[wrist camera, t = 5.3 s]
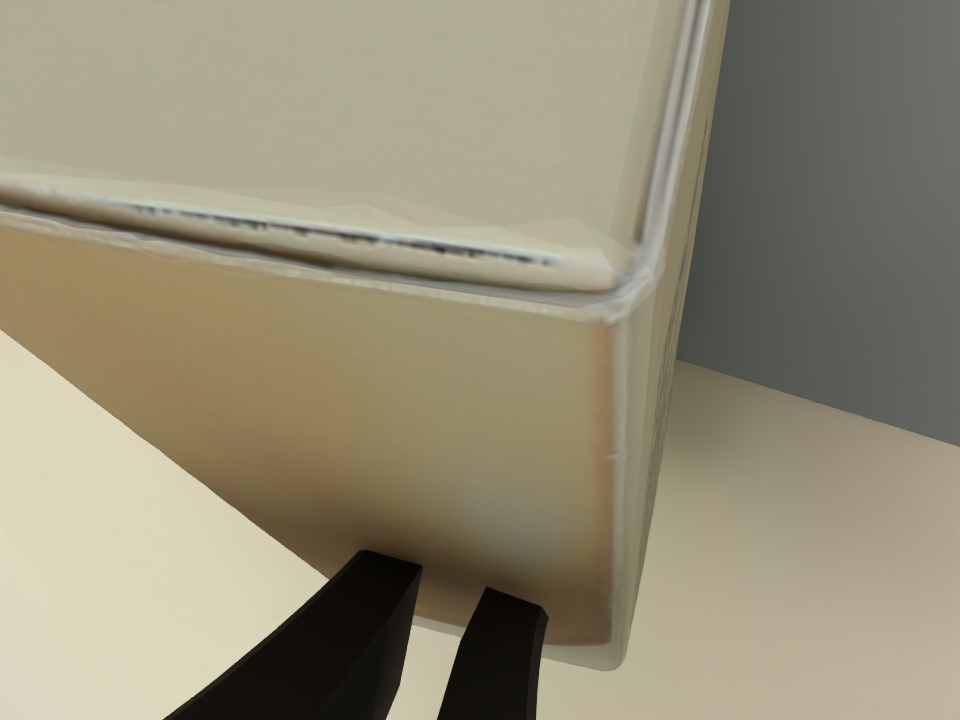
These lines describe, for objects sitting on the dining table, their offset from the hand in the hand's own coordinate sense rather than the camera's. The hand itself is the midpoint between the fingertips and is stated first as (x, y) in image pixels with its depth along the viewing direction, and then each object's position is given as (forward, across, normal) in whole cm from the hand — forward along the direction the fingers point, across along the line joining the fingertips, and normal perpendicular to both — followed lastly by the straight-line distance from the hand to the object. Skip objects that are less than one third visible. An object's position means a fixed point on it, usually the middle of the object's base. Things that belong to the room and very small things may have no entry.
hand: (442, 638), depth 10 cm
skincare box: (+6, 0, +2) cm, 6 cm away
